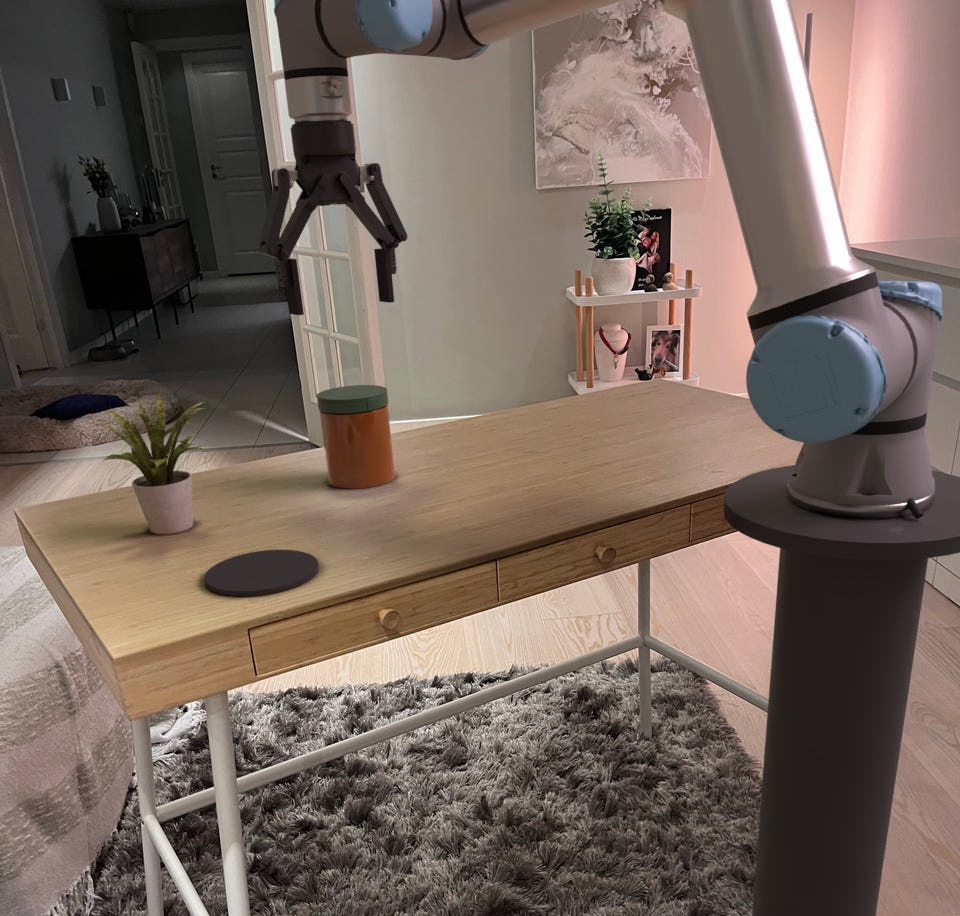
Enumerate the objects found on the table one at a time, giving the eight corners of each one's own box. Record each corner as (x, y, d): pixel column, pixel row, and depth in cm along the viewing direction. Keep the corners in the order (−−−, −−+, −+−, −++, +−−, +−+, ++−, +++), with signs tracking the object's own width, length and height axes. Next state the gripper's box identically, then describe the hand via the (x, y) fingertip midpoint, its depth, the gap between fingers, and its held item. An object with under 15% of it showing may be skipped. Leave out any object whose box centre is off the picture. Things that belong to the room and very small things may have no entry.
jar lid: (400, 405, 129) (399, 391, 128) (335, 417, 125) (334, 403, 124) (369, 395, 137) (368, 382, 136) (307, 406, 132) (306, 392, 132)
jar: (406, 479, 134) (398, 395, 129) (345, 493, 130) (334, 406, 125) (377, 466, 141) (368, 385, 136) (318, 478, 137) (307, 396, 132)
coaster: (336, 576, 102) (335, 571, 102) (225, 606, 97) (224, 600, 97) (294, 546, 112) (293, 541, 111) (191, 571, 106) (190, 566, 106)
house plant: (246, 534, 117) (222, 397, 110) (127, 557, 112) (94, 415, 105) (222, 504, 128) (199, 379, 121) (113, 524, 124) (83, 394, 116)
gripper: (236, 120, 107) (266, 322, 117) (424, 115, 119) (438, 298, 129) (211, 125, 113) (242, 317, 122) (394, 119, 125) (409, 295, 134)
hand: (342, 308), depth 125 cm, fingers open, 12 cm apart
